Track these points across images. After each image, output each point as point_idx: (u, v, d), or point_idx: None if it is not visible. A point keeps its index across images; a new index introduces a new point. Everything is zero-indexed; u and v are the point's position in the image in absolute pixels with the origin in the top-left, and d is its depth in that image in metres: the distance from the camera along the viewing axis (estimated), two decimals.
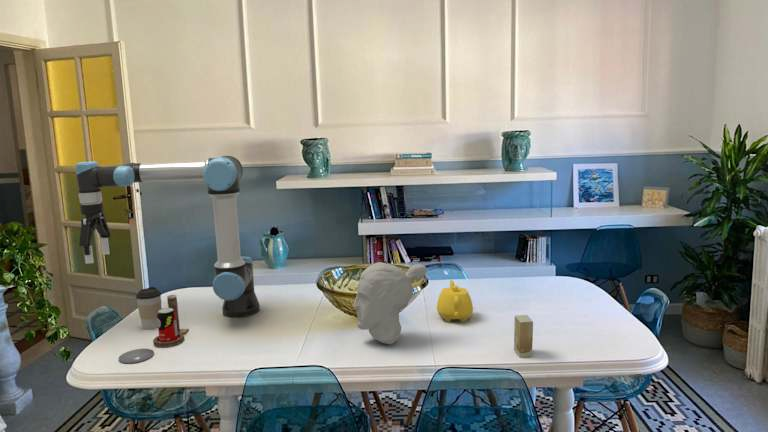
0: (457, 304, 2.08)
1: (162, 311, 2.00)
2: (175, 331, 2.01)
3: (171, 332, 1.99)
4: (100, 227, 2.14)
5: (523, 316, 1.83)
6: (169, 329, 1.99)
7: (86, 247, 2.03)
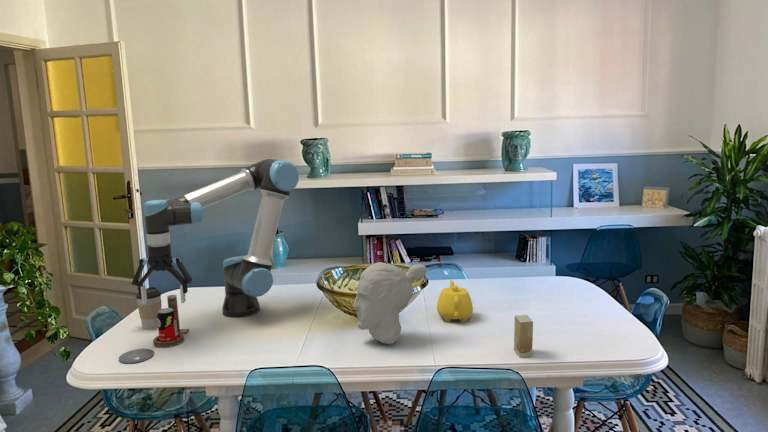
0: (457, 304, 2.08)
1: (162, 311, 2.00)
2: (175, 331, 2.01)
3: (171, 332, 1.99)
4: None
5: (523, 316, 1.83)
6: (169, 329, 1.99)
7: None
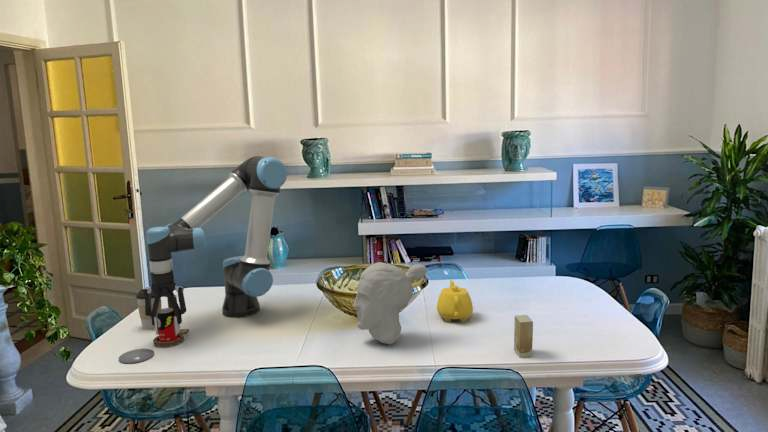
0: (457, 304, 2.08)
1: (162, 311, 2.00)
2: (175, 331, 2.01)
3: (171, 332, 1.99)
4: None
5: (523, 316, 1.83)
6: (169, 329, 1.99)
7: None
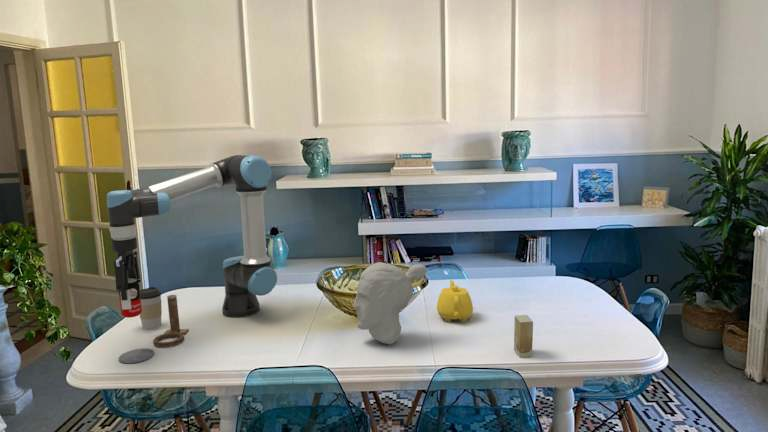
0: (457, 304, 2.08)
1: (129, 281, 1.85)
2: None
3: None
4: (131, 267, 1.87)
5: (523, 316, 1.83)
6: None
7: (123, 291, 1.81)
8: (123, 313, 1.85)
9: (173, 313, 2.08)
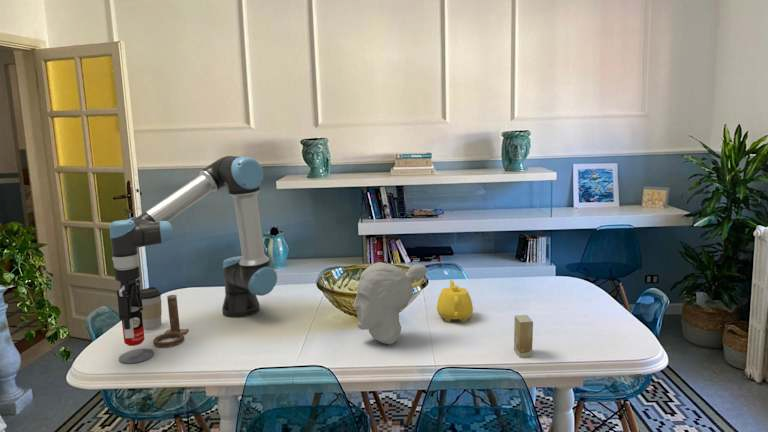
0: (457, 304, 2.08)
1: (132, 310, 1.86)
2: None
3: None
4: (134, 295, 1.89)
5: (523, 316, 1.83)
6: None
7: (126, 321, 1.83)
8: (126, 342, 1.86)
9: (173, 313, 2.08)
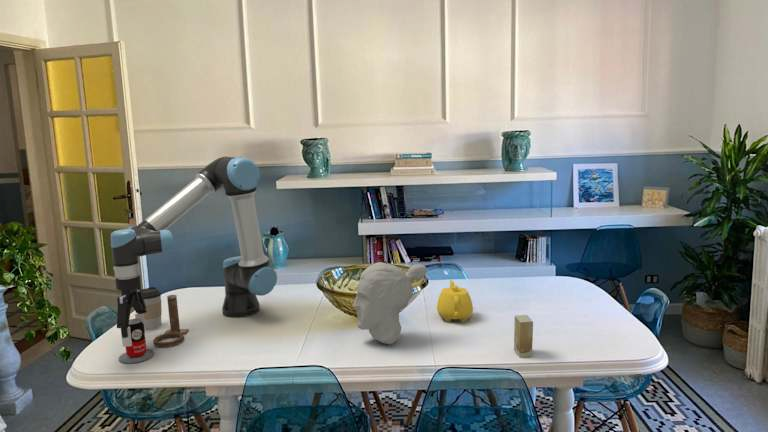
0: (457, 304, 2.08)
1: (134, 322, 1.87)
2: None
3: None
4: (136, 302, 1.90)
5: (523, 316, 1.83)
6: None
7: (124, 329, 1.80)
8: (128, 353, 1.87)
9: (173, 313, 2.08)
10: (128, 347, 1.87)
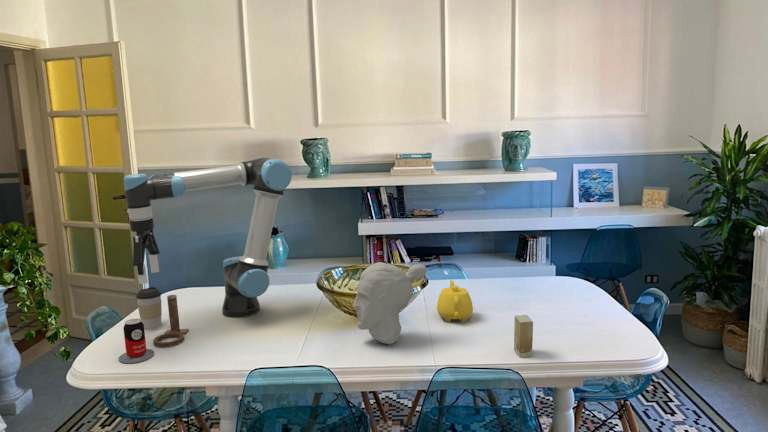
0: (457, 304, 2.08)
1: (134, 322, 1.87)
2: None
3: None
4: (150, 244, 2.00)
5: (523, 316, 1.83)
6: None
7: (140, 266, 1.89)
8: (128, 353, 1.87)
9: (173, 313, 2.08)
10: (128, 347, 1.87)
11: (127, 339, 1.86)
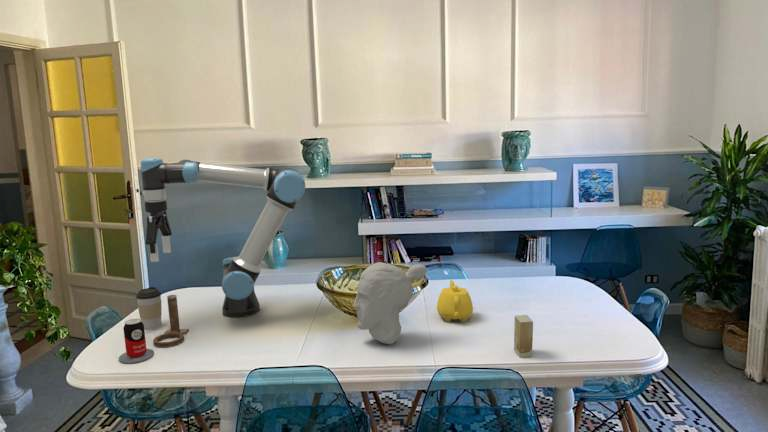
0: (457, 304, 2.08)
1: (134, 322, 1.87)
2: None
3: None
4: (163, 225, 2.10)
5: (523, 316, 1.83)
6: None
7: (152, 245, 2.00)
8: (128, 353, 1.87)
9: (173, 313, 2.08)
10: (128, 347, 1.87)
11: (127, 339, 1.86)
